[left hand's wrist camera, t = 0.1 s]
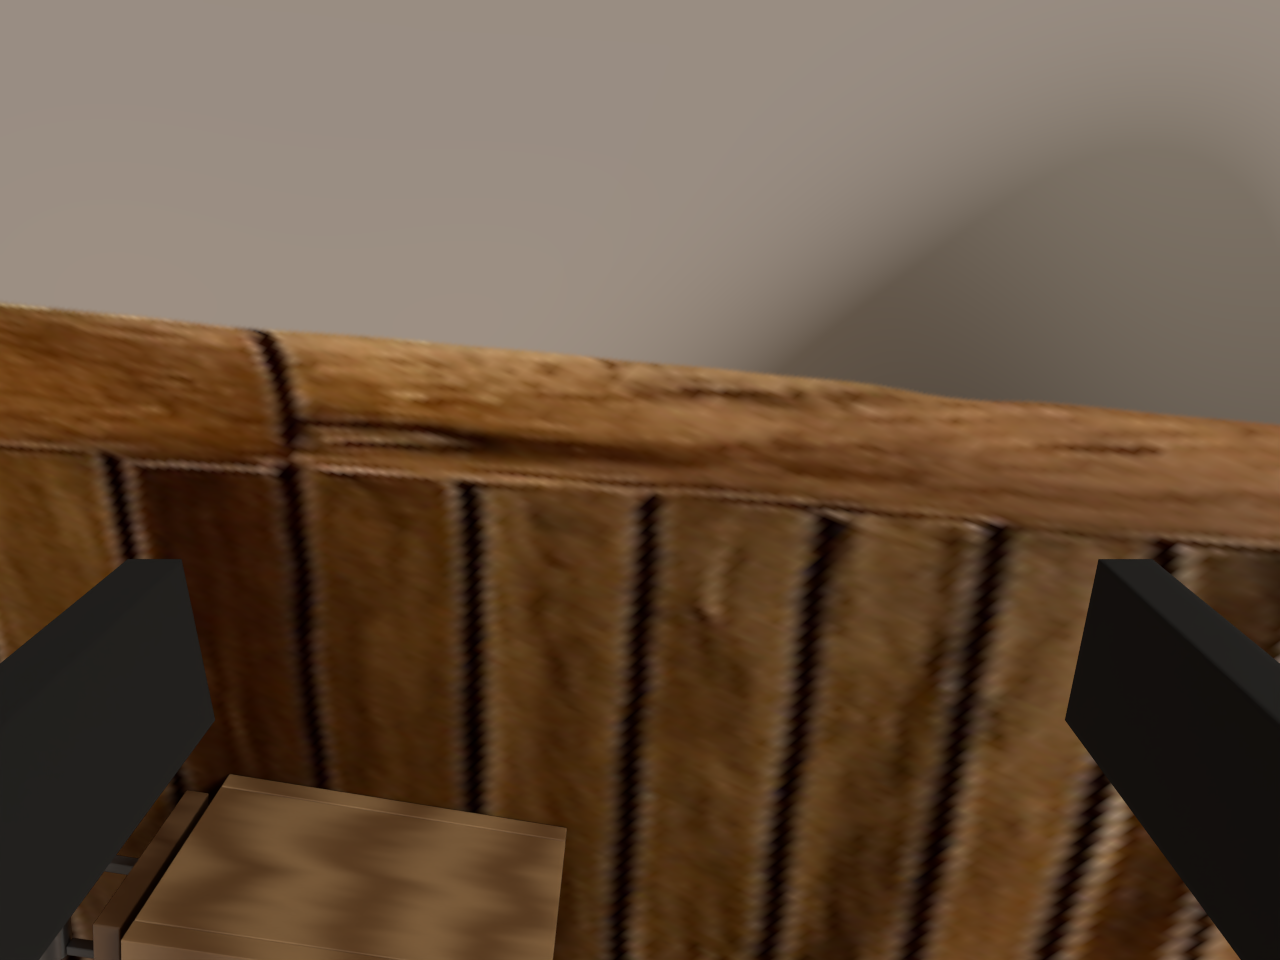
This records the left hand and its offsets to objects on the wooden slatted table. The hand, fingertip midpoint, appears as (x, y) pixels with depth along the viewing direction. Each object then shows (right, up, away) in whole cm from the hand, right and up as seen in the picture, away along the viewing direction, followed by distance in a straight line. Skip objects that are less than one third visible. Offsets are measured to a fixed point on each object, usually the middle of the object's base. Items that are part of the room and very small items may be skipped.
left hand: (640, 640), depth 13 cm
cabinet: (-14, -20, +38) cm, 45 cm away
